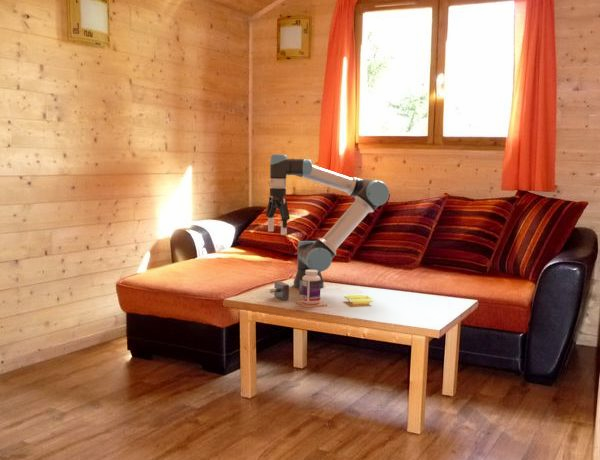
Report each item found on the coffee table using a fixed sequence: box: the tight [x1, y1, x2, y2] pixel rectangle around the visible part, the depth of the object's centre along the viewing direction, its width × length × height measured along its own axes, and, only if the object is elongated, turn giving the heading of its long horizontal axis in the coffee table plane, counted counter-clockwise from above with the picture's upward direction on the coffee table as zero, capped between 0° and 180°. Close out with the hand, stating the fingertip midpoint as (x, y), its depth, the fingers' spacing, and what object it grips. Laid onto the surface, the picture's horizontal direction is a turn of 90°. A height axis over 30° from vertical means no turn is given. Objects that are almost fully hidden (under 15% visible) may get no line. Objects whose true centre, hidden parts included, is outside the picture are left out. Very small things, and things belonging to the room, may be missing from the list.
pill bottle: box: [301, 270, 321, 304], centre depth 281 cm, size 8×8×14 cm
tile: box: [295, 300, 328, 309], centre depth 281 cm, size 10×10×1 cm
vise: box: [269, 280, 302, 302], centre depth 294 cm, size 24×9×7 cm, turn 117°
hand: (277, 233), depth 299 cm, fingers open, 13 cm apart
